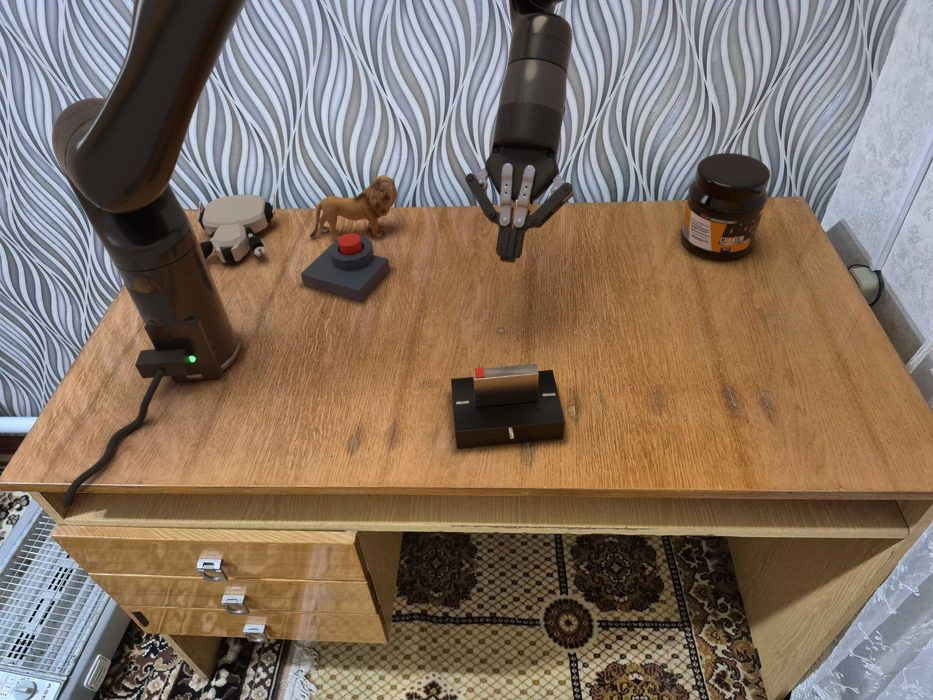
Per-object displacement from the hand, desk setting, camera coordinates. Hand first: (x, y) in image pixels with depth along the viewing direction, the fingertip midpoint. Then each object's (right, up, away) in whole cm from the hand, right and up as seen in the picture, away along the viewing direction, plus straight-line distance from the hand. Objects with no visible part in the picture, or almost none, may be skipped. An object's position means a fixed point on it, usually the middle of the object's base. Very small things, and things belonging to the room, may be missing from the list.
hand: (507, 261), depth 76 cm
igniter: (-22, 0, +21) cm, 31 cm away
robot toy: (-41, +7, +29) cm, 51 cm away
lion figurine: (-22, +9, +30) cm, 38 cm away
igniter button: (-21, +4, +20) cm, 30 cm away
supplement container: (+32, +6, +23) cm, 40 cm away
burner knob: (0, -16, -2) cm, 16 cm away
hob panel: (0, -18, +1) cm, 18 cm away
